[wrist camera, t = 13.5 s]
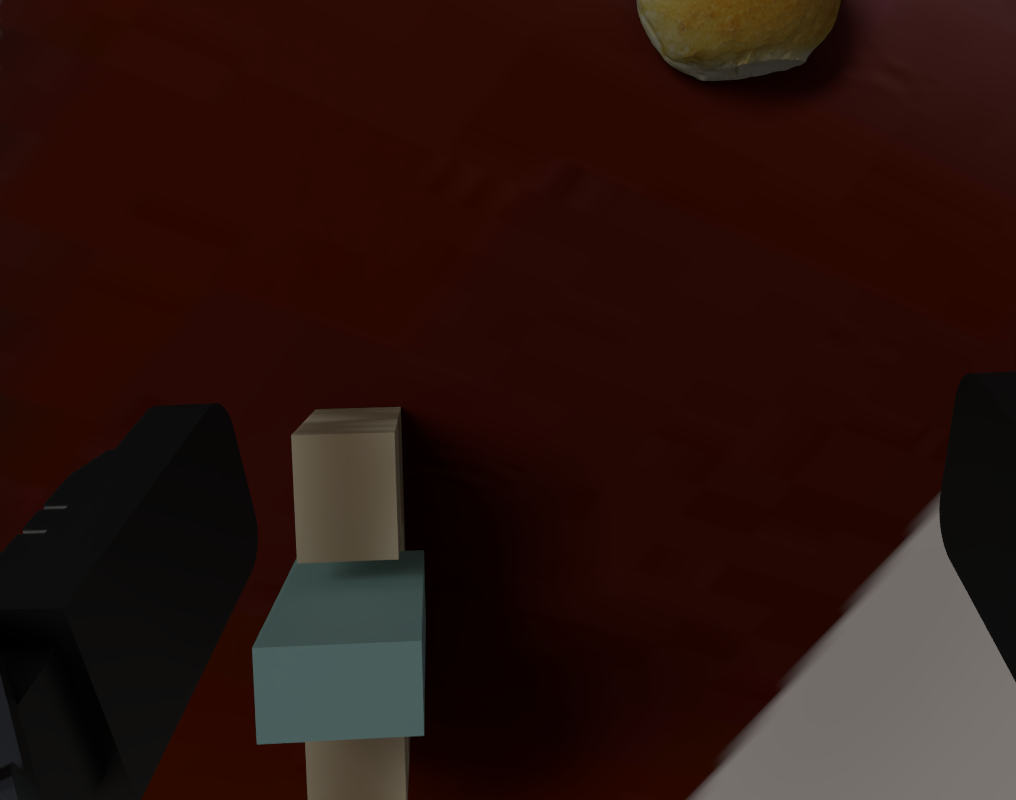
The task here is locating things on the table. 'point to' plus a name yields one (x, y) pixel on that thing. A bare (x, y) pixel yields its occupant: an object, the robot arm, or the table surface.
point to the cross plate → (343, 653)
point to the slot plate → (351, 537)
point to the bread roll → (736, 34)
